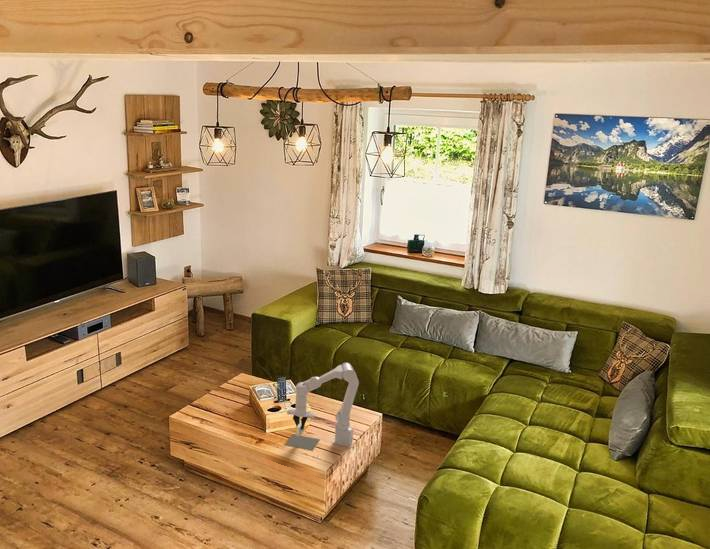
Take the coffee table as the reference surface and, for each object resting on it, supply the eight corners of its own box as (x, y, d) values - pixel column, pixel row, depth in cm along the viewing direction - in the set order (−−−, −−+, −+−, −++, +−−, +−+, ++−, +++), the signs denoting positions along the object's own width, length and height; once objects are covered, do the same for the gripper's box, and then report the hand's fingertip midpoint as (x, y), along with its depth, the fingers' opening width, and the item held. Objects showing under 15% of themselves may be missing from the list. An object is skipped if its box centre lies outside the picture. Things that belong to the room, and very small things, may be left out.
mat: (320, 440, 334) (320, 439, 334) (312, 451, 323) (312, 450, 323) (292, 434, 338) (292, 433, 338) (283, 445, 327) (283, 444, 327)
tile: (303, 430, 331) (304, 422, 329) (299, 436, 325) (300, 427, 324) (300, 429, 331) (300, 421, 330) (296, 435, 326) (296, 426, 324)
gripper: (316, 404, 326) (315, 427, 329) (291, 399, 329) (290, 422, 333) (312, 410, 319) (311, 433, 323) (285, 405, 323) (285, 428, 326)
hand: (300, 428), depth 327 cm, fingers closed on tile, 2 cm apart
